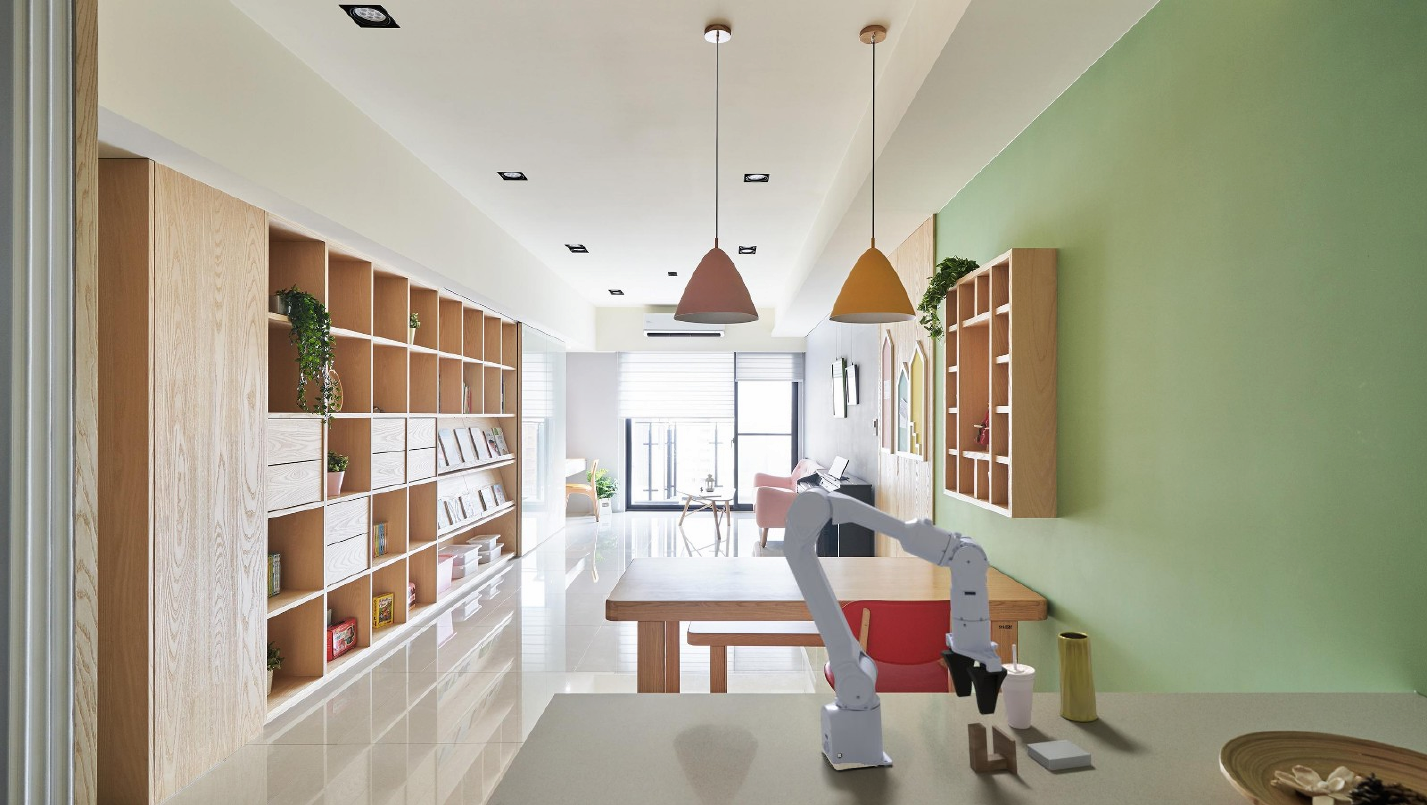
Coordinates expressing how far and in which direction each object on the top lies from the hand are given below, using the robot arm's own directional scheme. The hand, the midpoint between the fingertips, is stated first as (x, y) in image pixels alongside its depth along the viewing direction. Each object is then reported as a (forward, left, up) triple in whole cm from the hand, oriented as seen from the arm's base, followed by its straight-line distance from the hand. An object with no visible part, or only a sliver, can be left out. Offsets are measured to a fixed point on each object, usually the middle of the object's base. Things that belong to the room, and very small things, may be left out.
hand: (975, 704), depth 119 cm
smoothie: (+14, +13, -10) cm, 22 cm away
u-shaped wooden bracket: (+1, -1, -9) cm, 10 cm away
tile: (+9, -1, -9) cm, 13 cm away
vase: (+26, +14, -10) cm, 31 cm away
